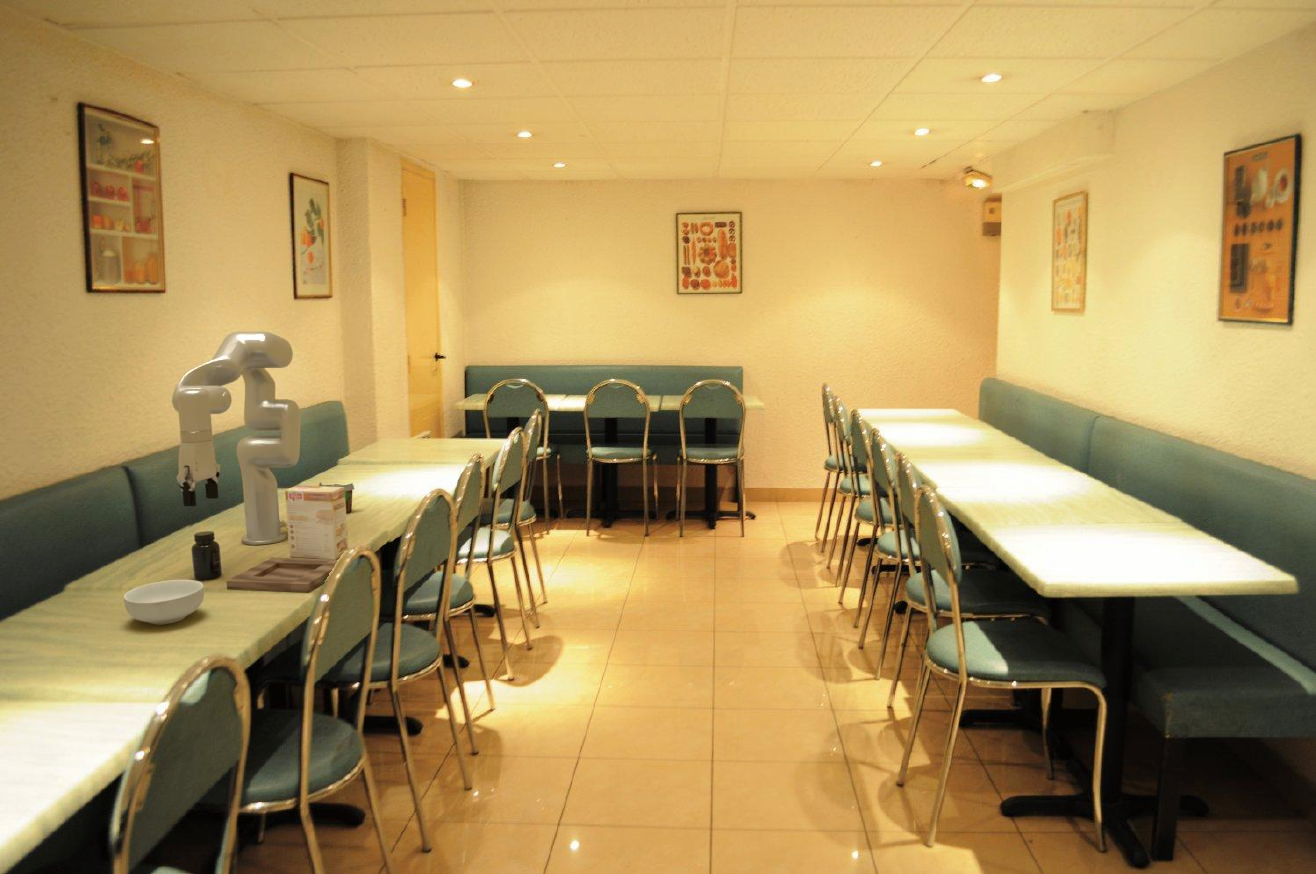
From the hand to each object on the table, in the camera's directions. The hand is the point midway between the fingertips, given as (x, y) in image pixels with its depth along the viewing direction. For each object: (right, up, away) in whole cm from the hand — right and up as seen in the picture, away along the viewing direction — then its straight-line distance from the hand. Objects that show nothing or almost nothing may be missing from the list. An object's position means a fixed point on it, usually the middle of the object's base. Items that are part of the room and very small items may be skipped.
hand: (201, 502), depth 268 cm
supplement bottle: (0, -20, +4) cm, 21 cm away
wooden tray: (+22, -20, +2) cm, 30 cm away
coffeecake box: (+23, -17, +24) cm, 37 cm away
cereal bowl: (+5, -26, -29) cm, 39 cm away
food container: (+11, -9, +75) cm, 76 cm away
